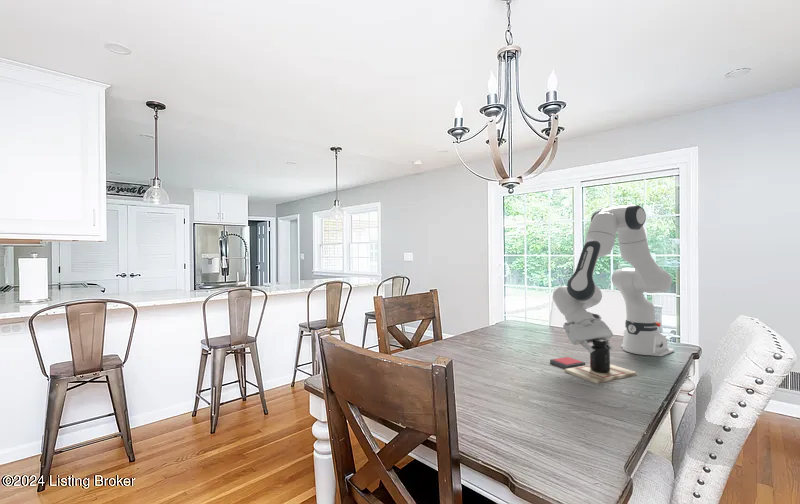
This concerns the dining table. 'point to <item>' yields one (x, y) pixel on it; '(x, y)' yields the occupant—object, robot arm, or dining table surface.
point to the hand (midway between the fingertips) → (601, 350)
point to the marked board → (598, 377)
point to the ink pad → (567, 362)
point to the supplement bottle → (600, 356)
